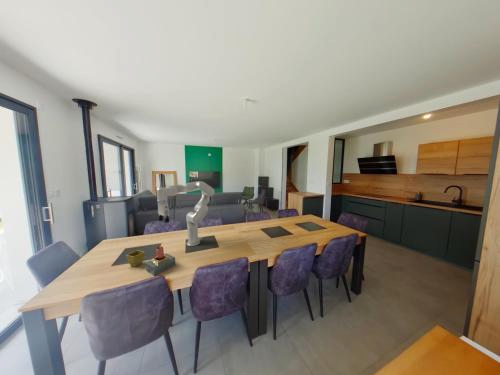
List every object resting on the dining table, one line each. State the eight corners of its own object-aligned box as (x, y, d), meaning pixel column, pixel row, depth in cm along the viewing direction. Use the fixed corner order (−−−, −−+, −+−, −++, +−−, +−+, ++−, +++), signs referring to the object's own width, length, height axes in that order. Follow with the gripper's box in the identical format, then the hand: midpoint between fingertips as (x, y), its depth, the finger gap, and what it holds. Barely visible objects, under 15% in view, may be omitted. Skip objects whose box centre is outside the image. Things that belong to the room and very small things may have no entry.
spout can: (163, 261, 129) (160, 242, 127) (166, 263, 127) (164, 244, 125) (156, 264, 126) (154, 245, 124) (159, 266, 123) (157, 246, 121)
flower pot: (138, 260, 136) (137, 249, 135) (145, 262, 133) (144, 251, 132) (126, 266, 128) (125, 255, 127) (134, 268, 125) (133, 257, 124)
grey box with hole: (166, 260, 136) (166, 251, 135) (175, 264, 129) (174, 255, 128) (145, 270, 122) (144, 260, 122) (154, 275, 116) (153, 265, 115)
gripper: (172, 202, 142) (173, 221, 144) (161, 200, 152) (162, 218, 153) (163, 203, 136) (165, 224, 138) (152, 201, 145) (154, 221, 147)
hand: (164, 221), depth 146 cm, fingers open, 9 cm apart
